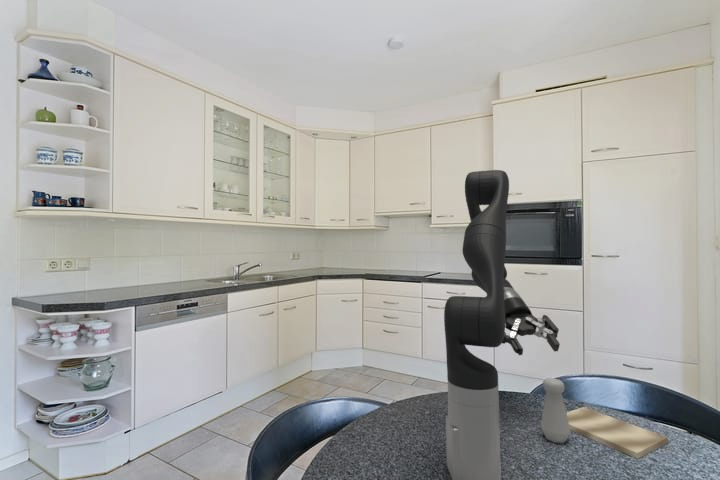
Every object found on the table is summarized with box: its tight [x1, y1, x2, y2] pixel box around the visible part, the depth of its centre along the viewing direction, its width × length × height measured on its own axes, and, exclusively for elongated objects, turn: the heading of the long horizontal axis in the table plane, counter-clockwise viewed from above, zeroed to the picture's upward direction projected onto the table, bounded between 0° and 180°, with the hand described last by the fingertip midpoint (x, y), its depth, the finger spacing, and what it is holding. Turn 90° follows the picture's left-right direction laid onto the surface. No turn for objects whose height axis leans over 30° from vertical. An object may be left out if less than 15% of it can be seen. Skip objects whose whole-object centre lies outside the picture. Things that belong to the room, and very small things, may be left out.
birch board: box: [566, 406, 669, 460], centre depth 81 cm, size 18×13×1 cm
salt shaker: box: [540, 377, 571, 444], centre depth 78 cm, size 6×6×13 cm
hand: (539, 350), depth 83 cm, fingers open, 8 cm apart
